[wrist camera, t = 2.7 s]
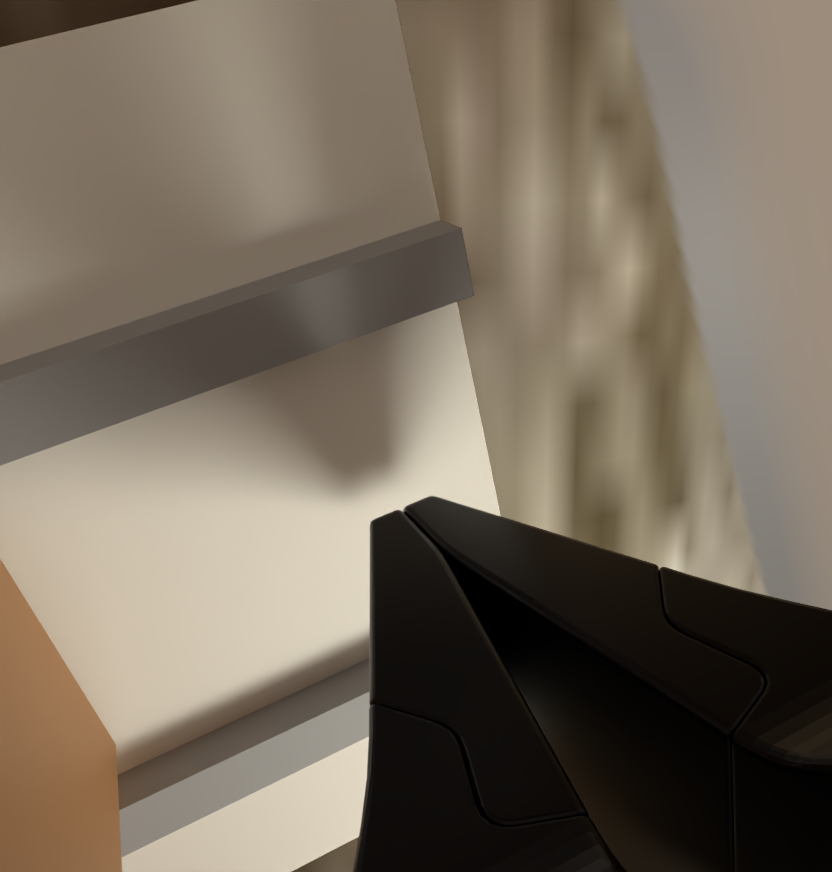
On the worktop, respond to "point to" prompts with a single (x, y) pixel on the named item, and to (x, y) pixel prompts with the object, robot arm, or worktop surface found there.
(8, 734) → the orange-brown cube
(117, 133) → the slot board
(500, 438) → the worktop surface
